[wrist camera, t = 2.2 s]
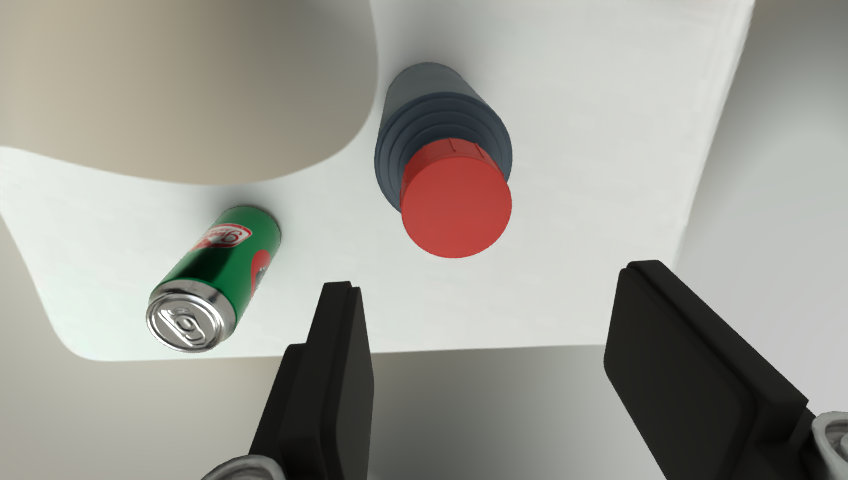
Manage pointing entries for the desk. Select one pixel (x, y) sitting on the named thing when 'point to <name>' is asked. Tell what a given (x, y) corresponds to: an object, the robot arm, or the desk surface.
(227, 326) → the soda can
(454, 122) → the bottle
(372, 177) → the desk surface
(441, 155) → the cap
